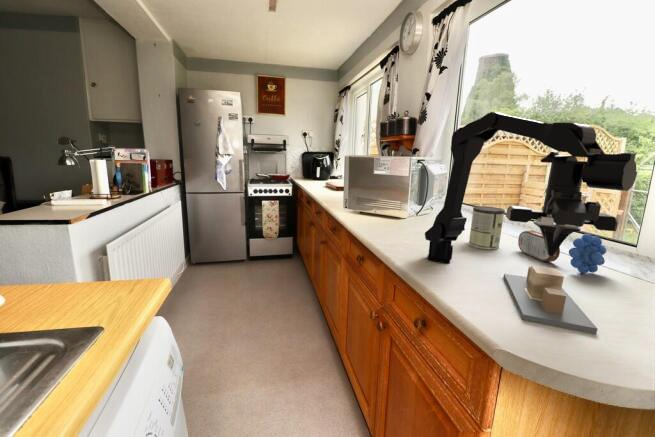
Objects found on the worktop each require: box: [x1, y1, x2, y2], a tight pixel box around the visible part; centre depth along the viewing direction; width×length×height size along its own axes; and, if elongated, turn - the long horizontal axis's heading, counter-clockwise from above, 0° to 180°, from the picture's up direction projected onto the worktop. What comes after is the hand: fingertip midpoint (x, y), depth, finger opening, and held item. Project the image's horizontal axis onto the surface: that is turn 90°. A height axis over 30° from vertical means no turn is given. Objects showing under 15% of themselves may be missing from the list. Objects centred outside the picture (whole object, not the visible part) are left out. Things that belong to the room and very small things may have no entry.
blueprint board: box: [503, 266, 598, 335], centre depth 70 cm, size 12×24×5 cm, turn 159°
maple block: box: [527, 265, 565, 300], centre depth 69 cm, size 5×5×6 cm
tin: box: [517, 229, 561, 263], centre depth 102 cm, size 15×3×8 cm, turn 7°
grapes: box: [568, 233, 607, 274], centre depth 87 cm, size 12×7×12 cm, turn 99°
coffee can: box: [468, 205, 506, 251], centre depth 113 cm, size 10×10×14 cm
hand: (550, 255), depth 68 cm, fingers closed
